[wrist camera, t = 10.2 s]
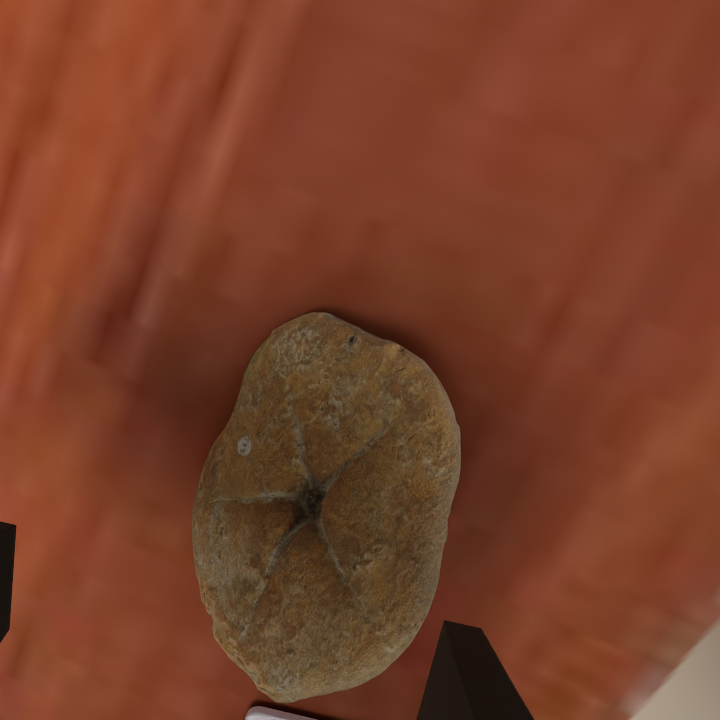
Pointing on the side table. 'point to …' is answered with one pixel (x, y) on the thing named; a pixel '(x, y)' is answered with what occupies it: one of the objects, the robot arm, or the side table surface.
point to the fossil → (325, 508)
